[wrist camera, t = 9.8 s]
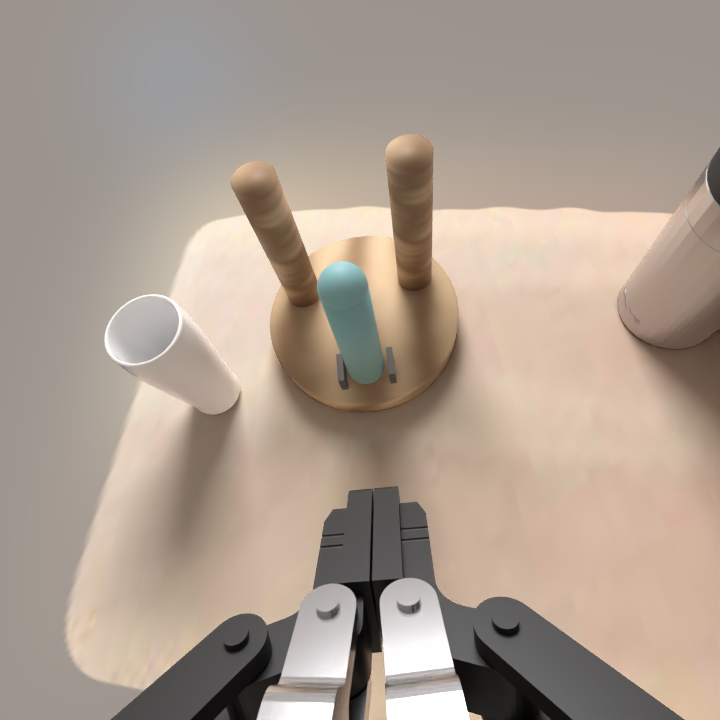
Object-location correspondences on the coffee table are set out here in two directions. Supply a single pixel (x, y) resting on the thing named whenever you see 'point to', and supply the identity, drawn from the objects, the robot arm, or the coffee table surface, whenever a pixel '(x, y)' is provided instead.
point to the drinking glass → (170, 353)
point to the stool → (385, 280)
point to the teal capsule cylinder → (352, 319)
